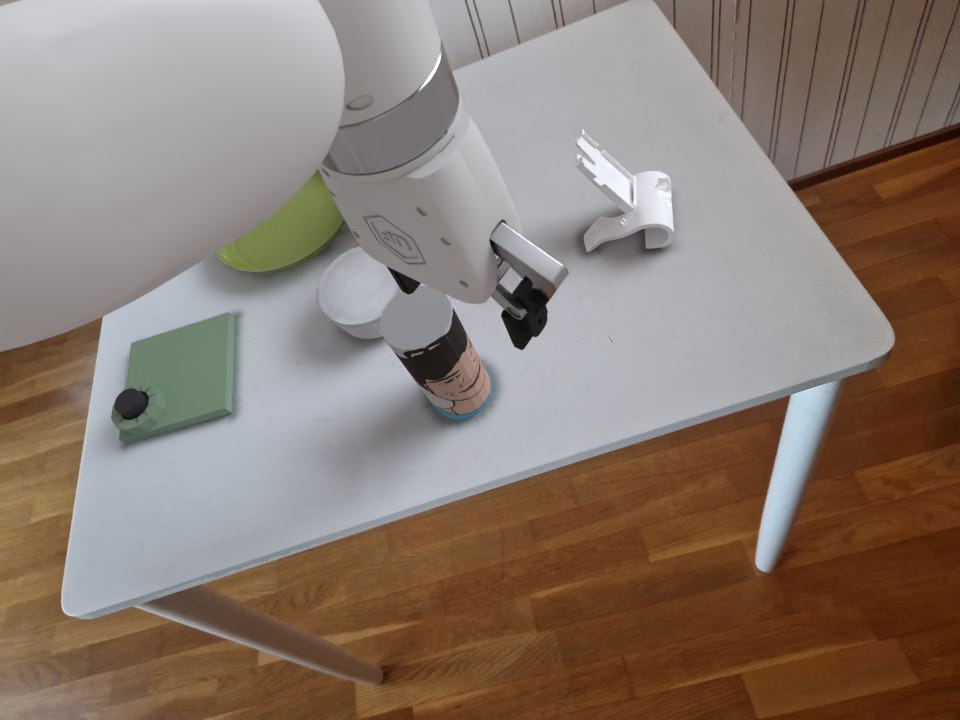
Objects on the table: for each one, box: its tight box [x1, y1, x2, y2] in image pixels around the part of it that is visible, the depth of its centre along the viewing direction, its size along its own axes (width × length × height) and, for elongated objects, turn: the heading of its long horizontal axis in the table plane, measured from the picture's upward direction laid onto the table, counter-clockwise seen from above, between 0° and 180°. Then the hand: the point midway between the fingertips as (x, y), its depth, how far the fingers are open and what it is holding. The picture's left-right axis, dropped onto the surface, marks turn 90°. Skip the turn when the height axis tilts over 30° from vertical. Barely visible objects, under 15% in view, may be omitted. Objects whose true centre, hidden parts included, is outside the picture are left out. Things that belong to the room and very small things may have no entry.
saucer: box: [214, 169, 346, 274], centre depth 90 cm, size 21×21×3 cm
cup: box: [380, 285, 493, 421], centre depth 66 cm, size 7×7×15 cm
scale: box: [110, 312, 236, 445], centre depth 82 cm, size 14×14×3 cm
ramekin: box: [316, 245, 402, 340], centre depth 78 cm, size 11×11×5 cm
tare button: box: [113, 388, 148, 419], centre depth 78 cm, size 3×3×2 cm
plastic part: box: [574, 128, 675, 253], centre depth 72 cm, size 8×10×12 cm
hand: (472, 303), depth 45 cm, fingers open, 9 cm apart
